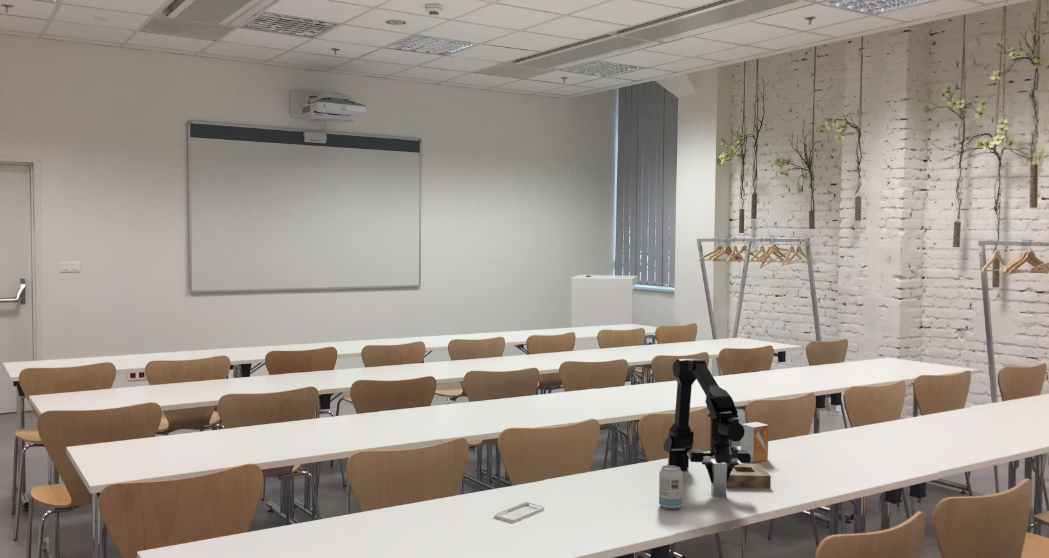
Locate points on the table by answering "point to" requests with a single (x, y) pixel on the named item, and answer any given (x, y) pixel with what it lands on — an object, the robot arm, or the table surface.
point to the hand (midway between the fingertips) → (718, 482)
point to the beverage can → (670, 487)
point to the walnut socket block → (749, 477)
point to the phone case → (520, 516)
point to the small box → (755, 440)
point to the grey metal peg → (719, 479)
